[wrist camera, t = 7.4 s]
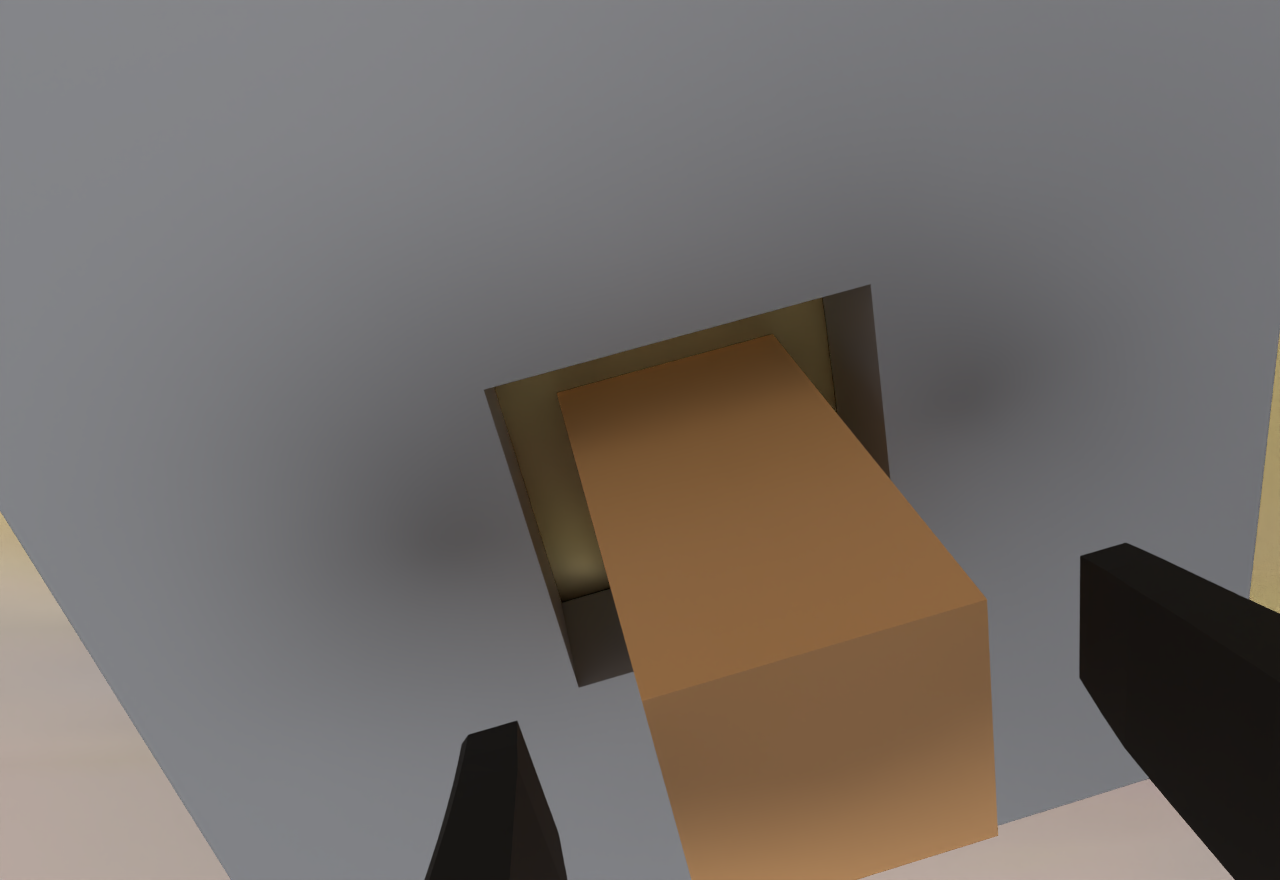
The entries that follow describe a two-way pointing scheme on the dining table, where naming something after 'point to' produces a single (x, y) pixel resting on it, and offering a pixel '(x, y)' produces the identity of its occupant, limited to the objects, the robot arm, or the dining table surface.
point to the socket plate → (596, 354)
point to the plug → (785, 623)
